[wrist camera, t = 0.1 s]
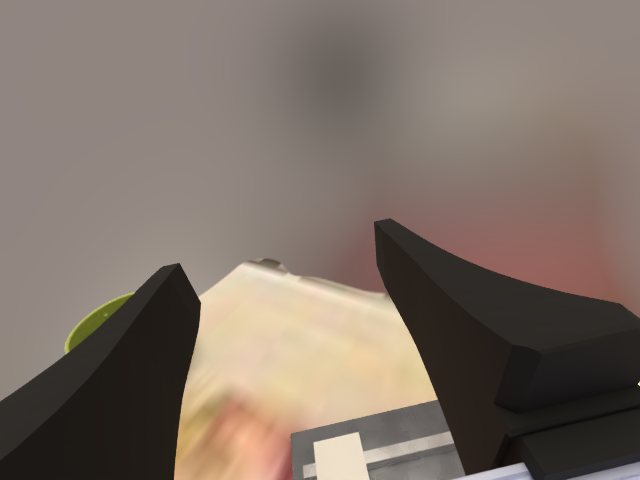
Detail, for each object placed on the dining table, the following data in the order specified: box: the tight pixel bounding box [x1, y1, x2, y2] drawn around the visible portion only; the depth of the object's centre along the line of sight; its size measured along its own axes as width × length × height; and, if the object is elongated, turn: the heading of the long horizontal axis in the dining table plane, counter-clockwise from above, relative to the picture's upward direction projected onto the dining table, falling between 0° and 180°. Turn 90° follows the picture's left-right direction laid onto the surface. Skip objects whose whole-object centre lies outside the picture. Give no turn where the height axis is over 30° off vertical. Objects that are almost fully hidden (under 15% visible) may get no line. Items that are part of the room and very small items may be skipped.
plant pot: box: [64, 292, 135, 354], centre depth 33 cm, size 9×9×9 cm
